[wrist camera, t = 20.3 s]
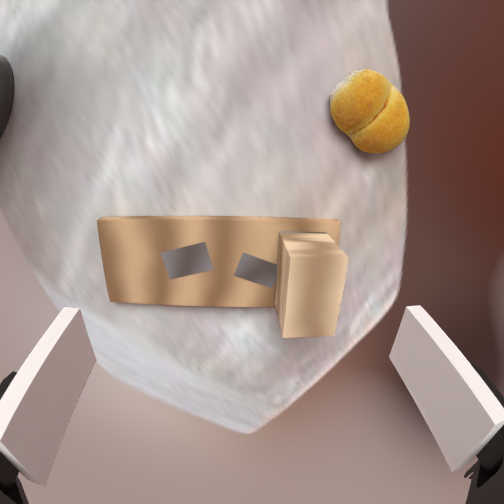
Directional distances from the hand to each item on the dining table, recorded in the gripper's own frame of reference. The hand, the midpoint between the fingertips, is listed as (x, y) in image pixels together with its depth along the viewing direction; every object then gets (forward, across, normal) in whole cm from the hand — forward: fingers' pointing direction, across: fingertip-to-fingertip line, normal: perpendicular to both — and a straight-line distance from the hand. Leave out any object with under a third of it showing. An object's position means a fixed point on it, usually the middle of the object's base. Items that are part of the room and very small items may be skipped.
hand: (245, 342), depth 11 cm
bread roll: (+22, +13, +11) cm, 28 cm away
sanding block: (+20, +7, -6) cm, 22 cm away
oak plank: (+22, -2, -6) cm, 23 cm away
